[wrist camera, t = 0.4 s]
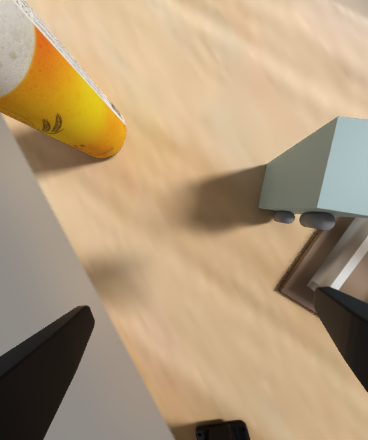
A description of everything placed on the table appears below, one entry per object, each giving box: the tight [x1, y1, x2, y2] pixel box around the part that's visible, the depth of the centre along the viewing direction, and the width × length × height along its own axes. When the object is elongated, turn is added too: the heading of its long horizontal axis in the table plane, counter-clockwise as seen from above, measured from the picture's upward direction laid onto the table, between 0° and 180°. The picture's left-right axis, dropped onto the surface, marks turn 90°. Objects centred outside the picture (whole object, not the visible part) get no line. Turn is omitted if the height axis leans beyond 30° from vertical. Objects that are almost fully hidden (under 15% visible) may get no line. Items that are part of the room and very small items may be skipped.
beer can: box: [0, 0, 126, 158], centre depth 13 cm, size 6×6×15 cm
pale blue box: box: [258, 116, 368, 230], centre depth 14 cm, size 6×4×10 cm, turn 170°
